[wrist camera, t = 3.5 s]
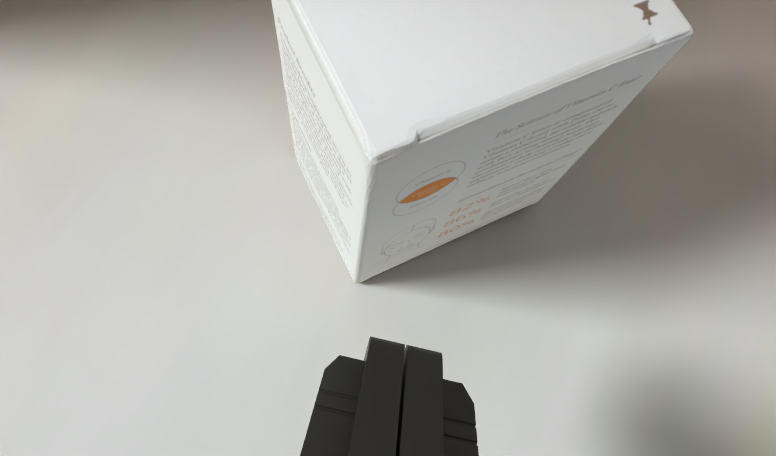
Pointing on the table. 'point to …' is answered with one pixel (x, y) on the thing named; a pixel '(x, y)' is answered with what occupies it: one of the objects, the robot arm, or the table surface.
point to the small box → (454, 107)
